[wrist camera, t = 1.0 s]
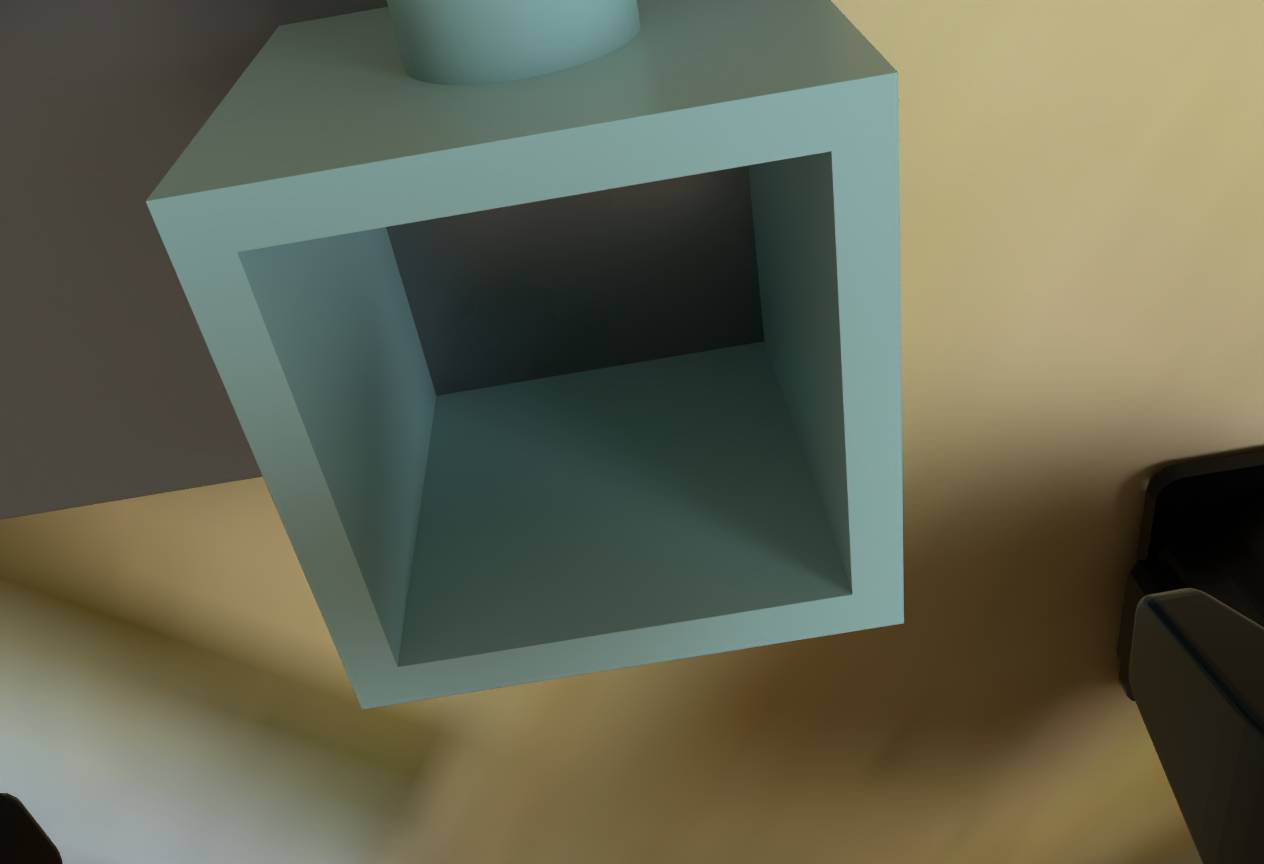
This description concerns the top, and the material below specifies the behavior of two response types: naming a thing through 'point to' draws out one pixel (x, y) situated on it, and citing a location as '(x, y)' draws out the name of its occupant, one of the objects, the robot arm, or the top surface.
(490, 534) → the duct collar
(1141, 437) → the top surface
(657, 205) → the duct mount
